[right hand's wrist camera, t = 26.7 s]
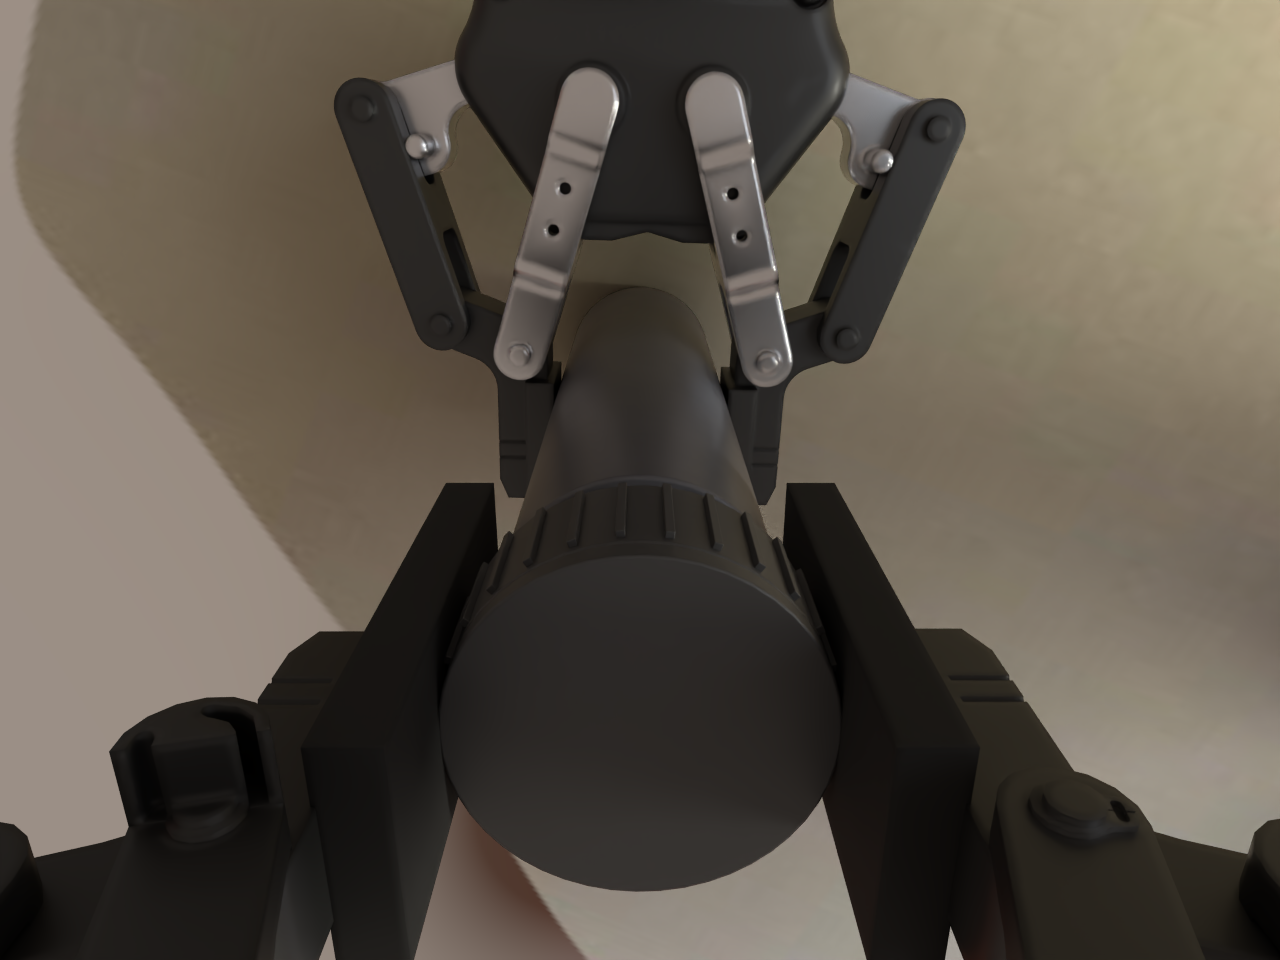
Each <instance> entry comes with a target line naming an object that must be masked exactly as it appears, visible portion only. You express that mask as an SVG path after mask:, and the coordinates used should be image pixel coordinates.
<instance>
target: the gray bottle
mask: <svg viewBox="0 0 1280 960" xmlns="http://www.w3.org/2000/svg"><path fill="white" fill-rule="evenodd" d="M623 482H626V483H627V486H638V485H648V486H660V487H662V485H663V483H667V484H671V488H675V489H680V490H684V491H689V492H693V493H696V494H699V495H702V496H705V494H706V493H709V494H711V495H714V500H716V501H718V502H720V503H722V504H724V505H726V506H728V507H730V508H732V509H734V510H736V511H738V512H739V513H741V514H743V513H744V512H745V511H746V512H747V513H749V514H750V515H751V516H752V519H753V522H754V523H755V524H756V525H757V526H759V527H760V528H761V529H762V530H763V531H764V532H765V533H767V532H766V528H765V525H764V522H763V519H762V516H761V513H760V509H759V506H758V503H757V500H756V497H755V494H754V490H753V487H752V484H751V481H750V478H749V475H748V471H747V468H746V465H745V462H744V459H743V455H742V452H741V449H740V446H739V443H738V440H737V436H736V433H735V430H734V427H733V424H732V421H731V417H730V414H729V411H728V408H727V405H726V402H725V398H724V395H723V392H722V389H721V386H720V383H719V379H718V376H717V373H716V370H715V367H714V363H713V360H712V357H711V354H710V351H709V348H708V344H707V341H706V338H705V335H704V332H703V329H702V327H701V325H700V323H699V321H698V319H697V318H696V316H695V315H694V313H693V312H692V311H691V310H690V309H689V308H688V307H687V305H685V304H684V303H683V302H682V301H680V300H679V299H678V298H676V297H674V296H673V295H671V294H669V293H666V292H664V291H661V290H657V289H653V288H647V287H635V288H627V289H623V290H619V291H617V292H614V293H612V294H610V295H608V296H606V297H604V298H603V299H601V300H600V301H599V302H597V303H596V304H595V305H594V306H593V307H592V308H591V309H590V310H589V312H588V313H587V314H586V315H585V317H584V318H583V320H582V322H581V324H580V326H579V328H578V331H577V333H576V337H575V340H574V343H573V346H572V349H571V352H570V356H569V359H568V362H567V365H566V368H565V371H564V375H563V378H562V381H561V384H560V387H559V391H558V394H557V397H556V400H555V403H554V406H553V410H552V413H551V416H550V419H549V422H548V425H547V429H546V432H545V435H544V438H543V441H542V444H541V448H540V451H539V454H538V457H537V460H536V464H535V467H534V470H533V473H532V476H531V479H530V483H529V486H528V489H527V492H526V495H525V498H524V502H523V505H522V508H521V511H520V514H519V517H518V521H517V524H516V527H515V530H514V533H515V532H516V531H517V530H518V529H519V528H521V527H522V526H523V525H524V524H526V523H527V522H528V521H529V520H531V519H532V518H533V517H535V514H536V510H538V509H540V508H541V507H544V509H545V510H547V509H548V508H550V507H552V506H554V505H556V504H558V503H561V502H563V501H565V500H568V499H570V498H572V497H574V496H575V492H578V491H581V490H583V491H584V494H585V493H588V492H592V491H595V490H600V489H606V488H612V487H618V483H623ZM514 533H513V534H514Z"/></svg>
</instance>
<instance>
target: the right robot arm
mask: <svg viewBox="0 0 1280 960" xmlns="http://www.w3.org/2000/svg"><path fill="white" fill-rule="evenodd" d="M783 547H784V549H785V552H786V555H787V558H788V559H789V561H790V562H791V564H792V566H793V567H794V569H795V570H798V569H800V568H801V569H802V571H803V573H804V575H805V578H806V581H807V583H808V586H809V589H810V591H811V594H812V597H813V600H814V602H815V605H816V608H817V610H818V613H819V616H820V618H821V621H822V624H823V627H824V629H825V634H826V636H827V639H828V642H829V645H830V647H831V650H832V653H833V655H834V658H835V661H836V664H837V666H836V672H834V674H835V677H836V681H837V685H838V688H839V692H840V696H841V705H842V724H841V735H840V745H839V754H838V760H837V764H836V767H835V769H834V772H833V775H832V777H831V780H830V783H829V785H828V787H827V788H826V790H825V792H824V794H823V796H822V798H823V801H824V805H825V809H826V812H827V816H828V820H829V823H830V827H831V831H832V834H833V838H834V842H835V845H836V849H837V853H838V856H839V860H840V864H841V867H842V871H843V875H844V878H845V882H846V886H847V889H848V893H849V897H850V900H851V904H852V908H853V911H854V915H855V919H856V922H857V926H858V930H859V933H860V937H861V941H862V944H863V948H864V952H865V955H866V959H867V960H945V955H946V950H947V944H948V938H949V932H950V926H951V929H952V931H953V934H954V936H955V939H956V941H957V944H958V946H959V949H960V952H961V954H962V957H963V959H964V960H1280V819H1276V820H1270V821H1267V822H1266V823H1265V824H1264V825H1263V826H1261V827H1260V828H1259V829H1258V830H1257V831H1256V832H1255V833H1254V836H1253V839H1252V843H1251V846H1250V849H1249V852H1248V854H1244V853H1240V852H1235V851H1231V850H1226V849H1222V848H1217V847H1213V846H1208V845H1204V844H1199V843H1195V842H1190V841H1186V840H1181V839H1178V838H1174V837H1171V836H1167V835H1164V834H1160V833H1157V832H1154V831H1153V828H1152V826H1151V824H1150V823H1149V822H1148V820H1147V819H1146V817H1145V816H1144V814H1143V813H1142V811H1141V810H1140V808H1139V807H1138V806H1137V805H1136V804H1135V803H1134V802H1132V801H1131V800H1130V799H1129V798H1127V797H1126V796H1125V795H1124V794H1122V793H1121V792H1120V791H1118V790H1117V789H1116V788H1114V787H1112V786H1110V785H1108V784H1106V783H1104V782H1102V781H1100V780H1098V779H1096V778H1093V777H1091V776H1089V775H1087V774H1083V773H1079V772H1075V771H1074V770H1073V769H1072V767H1071V766H1070V764H1069V763H1068V762H1067V760H1066V759H1065V757H1064V756H1063V754H1062V753H1061V751H1060V750H1059V748H1058V747H1057V745H1056V744H1055V742H1054V741H1053V739H1052V738H1051V736H1050V735H1049V733H1048V732H1047V731H1046V729H1045V728H1044V726H1043V725H1042V723H1041V722H1040V720H1039V719H1038V717H1037V716H1036V714H1035V713H1034V711H1033V710H1032V708H1031V707H1030V705H1029V704H1028V703H1027V702H1024V700H1023V695H1022V694H1021V692H1020V691H1019V689H1018V688H1017V686H1016V685H1015V683H1014V682H1013V681H1010V680H1009V674H1008V673H1007V672H1006V670H1005V669H1004V667H1003V666H1002V664H1001V663H1000V661H999V660H998V658H997V657H996V655H995V654H994V652H993V651H992V650H991V649H990V648H988V647H987V646H985V645H984V644H982V643H981V642H980V641H978V640H977V639H975V638H974V637H973V636H971V635H970V634H968V633H967V632H965V631H964V630H963V629H915V628H914V626H913V625H912V623H911V621H910V619H909V617H908V616H907V614H906V612H905V610H904V608H903V606H902V605H901V603H900V601H899V599H898V597H897V596H896V594H895V592H894V590H893V588H892V587H891V585H890V583H889V581H888V579H887V577H886V576H885V574H884V572H883V570H882V568H881V567H880V565H879V563H878V561H877V559H876V558H875V556H874V554H873V552H872V550H871V548H870V547H869V545H868V543H867V541H866V539H865V538H864V536H863V534H862V532H861V530H860V528H859V527H858V525H857V523H856V521H855V519H854V518H853V516H852V514H851V512H850V510H849V509H848V507H847V505H846V503H845V501H844V499H843V498H842V496H841V494H840V492H839V490H838V489H837V487H836V485H835V483H787V488H786V504H785V519H784V535H783ZM497 552H498V543H497V527H496V511H495V495H494V483H446V484H445V486H444V488H443V490H442V491H441V493H440V495H439V497H438V499H437V500H436V502H435V504H434V506H433V508H432V510H431V511H430V513H429V515H428V517H427V519H426V520H425V522H424V524H423V526H422V528H421V529H420V531H419V533H418V535H417V537H416V539H415V540H414V542H413V544H412V546H411V548H410V549H409V551H408V553H407V555H406V557H405V559H404V560H403V562H402V564H401V566H400V568H399V569H398V571H397V573H396V575H395V577H394V578H393V580H392V582H391V584H390V586H389V588H388V589H387V591H386V593H385V595H384V597H383V598H382V600H381V602H380V604H379V606H378V608H377V609H376V611H375V613H374V615H373V617H372V618H371V620H370V622H369V624H368V626H367V627H366V629H365V631H341V632H340V631H339V632H318V633H317V634H315V635H314V636H312V637H311V638H310V639H308V640H307V641H305V642H304V643H303V644H301V645H300V646H298V647H297V648H296V649H294V650H293V651H291V652H290V653H289V654H288V655H287V657H286V658H285V660H284V661H283V663H282V664H281V666H280V667H279V669H278V670H277V672H276V673H275V675H274V676H273V678H272V683H271V684H270V683H269V684H268V685H267V686H266V688H265V689H264V691H263V692H262V694H261V695H260V697H259V699H258V704H257V703H255V702H251V701H247V700H244V699H240V698H236V697H214V698H203V699H199V700H194V701H190V702H185V703H181V704H176V705H174V706H172V707H169V708H167V709H165V710H162V711H160V712H158V713H155V714H153V715H150V716H148V717H147V718H145V719H144V720H142V721H141V722H139V723H138V724H136V725H135V726H134V727H132V728H131V729H129V730H128V731H126V732H125V733H124V734H123V735H122V736H121V737H120V739H119V740H118V741H117V742H116V744H115V745H114V746H113V747H112V749H111V750H110V751H109V753H110V757H111V761H112V764H113V768H114V772H115V776H116V780H117V783H118V787H119V791H120V795H121V799H122V803H123V806H124V810H125V814H126V818H127V822H128V826H129V828H128V830H127V833H126V835H125V836H123V837H119V838H116V839H113V840H109V841H106V842H103V843H98V844H94V845H89V846H85V847H80V848H76V849H71V850H67V851H63V852H58V853H54V854H49V855H45V856H40V857H36V858H34V856H33V853H32V850H31V847H30V844H29V840H28V837H27V836H26V835H25V834H24V833H23V832H22V831H21V830H20V829H18V828H17V827H16V826H15V825H14V824H8V823H1V822H0V960H319V957H320V955H321V952H322V950H323V947H324V945H325V942H326V939H327V937H328V934H329V932H330V929H331V934H332V940H333V946H334V952H335V958H336V960H414V957H415V953H416V950H417V946H418V942H419V939H420V935H421V932H422V928H423V924H424V921H425V917H426V913H427V910H428V906H429V902H430V899H431V895H432V891H433V888H434V884H435V880H436V877H437V873H438V869H439V866H440V862H441V858H442V855H443V851H444V847H445V844H446V840H447V836H448V833H449V829H450V825H451V822H452V818H453V814H454V811H455V807H456V803H457V800H458V796H457V793H456V791H455V789H454V787H453V785H452V783H451V781H450V779H449V777H448V774H447V771H446V768H445V764H444V761H443V758H442V749H441V740H440V729H439V717H438V707H439V701H440V695H441V689H442V686H443V683H444V680H445V677H446V674H447V671H448V668H449V664H445V663H444V658H445V655H446V652H447V650H448V647H449V644H450V642H451V639H452V636H453V634H454V631H455V628H456V625H457V623H458V620H459V617H460V615H461V612H462V609H463V607H464V604H465V601H466V599H467V596H470V594H471V591H472V588H473V585H474V583H475V580H476V577H477V574H478V572H479V569H480V567H481V565H482V563H483V562H486V563H487V564H489V563H490V561H491V560H492V559H493V557H494V556H495V554H496V553H497Z"/></svg>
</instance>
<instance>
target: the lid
mask: <svg viewBox="0 0 1280 960" xmlns="http://www.w3.org/2000/svg"><path fill="white" fill-rule="evenodd" d="M444 663H445V664H449V668H448V671H447V674H446V677H445V680H444V683H443V686H442V689H441V695H440V701H439V707H438V717H439V729H440V740H441V749H442V758H443V761H444V764H445V768H446V771H447V774H448V777H449V779H450V781H451V783H452V785H453V787H454V789H455V791H456V793H457V796H458V797H459V799H460V800H461V802H462V803H463V805H464V806H465V808H466V809H467V811H468V812H469V814H470V815H471V816H472V817H473V818H474V819H475V821H476V822H477V823H478V824H479V825H480V826H481V827H482V828H483V830H484V831H485V832H486V833H488V834H489V835H490V836H491V837H492V838H493V839H494V840H495V841H497V842H498V843H499V844H500V845H501V846H502V847H504V848H505V849H507V850H508V851H510V852H511V853H513V854H514V855H515V856H517V857H518V858H520V859H521V860H523V861H525V862H527V863H529V864H531V865H533V866H535V867H536V868H538V869H540V870H542V871H545V872H547V873H550V874H552V875H555V876H557V877H560V878H562V879H565V880H568V881H572V882H576V883H579V884H583V885H586V886H592V887H597V888H603V889H609V890H620V891H635V892H638V891H662V890H670V889H677V888H685V887H689V886H693V885H697V884H701V883H706V882H709V881H712V880H715V879H718V878H721V877H723V876H726V875H729V874H731V873H734V872H736V871H738V870H740V869H742V868H744V867H746V866H748V865H750V864H752V863H754V862H755V861H757V860H759V859H760V858H762V857H763V856H765V855H767V854H768V853H770V852H771V851H773V850H774V849H775V848H776V847H778V846H779V845H780V844H781V843H783V842H784V841H785V840H786V839H788V838H789V837H790V836H791V835H792V834H793V833H794V832H795V831H796V830H797V829H798V828H799V827H800V826H801V825H802V824H803V823H804V822H805V820H806V819H807V818H808V816H809V815H810V814H811V812H812V811H813V810H814V808H815V807H816V806H817V804H818V803H819V801H820V799H821V798H822V796H823V794H824V792H825V790H826V788H827V787H828V785H829V783H830V780H831V777H832V775H833V772H834V769H835V767H836V764H837V760H838V754H839V745H840V735H841V724H842V705H841V696H840V692H839V688H838V685H837V681H836V677H835V674H834V672H836V666H837V664H836V661H835V658H834V655H833V653H832V650H831V647H830V645H829V642H828V639H827V636H826V634H825V629H824V627H823V624H822V621H821V618H820V616H819V613H818V610H817V608H816V605H815V602H814V600H813V597H812V594H811V591H810V589H809V586H808V583H807V581H806V578H805V575H804V573H803V571H802V569H801V568H800V569H798V570H795V569H794V567H793V566H792V564H791V562H790V561H789V559H788V558H787V555H786V552H785V549H784V547H783V544H782V541H781V540H780V539H779V538H778V537H776V538H775V539H774V540H773V539H772V538H771V537H770V536H769V535H768V534H767V533H765V532H764V531H763V530H762V529H761V528H760V527H759V526H757V525H756V524H755V523H754V522H753V519H752V516H751V515H750V514H749V513H747V512H746V511H745V512H744V513H743V514H741V513H739V512H738V511H736V510H734V509H732V508H730V507H728V506H726V505H724V504H722V503H720V502H718V501H716V500H714V495H711V494H709V493H706V494H705V496H702V495H699V494H696V493H693V492H689V491H684V490H680V489H675V488H671V484H667V483H663V485H662V487H660V486H648V485H638V486H627V483H626V482H623V483H618V487H612V488H606V489H600V490H595V491H592V492H588V493H585V494H584V491H583V490H581V491H578V492H575V496H574V497H572V498H570V499H568V500H565V501H563V502H561V503H558V504H556V505H554V506H552V507H550V508H548V509H547V510H545V509H544V507H541V508H540V509H538V510H536V514H535V517H533V518H532V519H531V520H529V521H528V522H527V523H526V524H524V525H523V526H522V527H521V528H519V529H518V530H517V531H516V532H515V533H514V534H512V533H511V532H510V531H509V532H508V533H507V534H506V535H505V536H504V538H503V541H502V544H501V547H500V549H499V550H498V552H497V553H496V554H495V556H494V557H493V559H492V560H491V561H490V563H489V564H487V563H486V562H483V563H482V565H481V567H480V569H479V572H478V574H477V577H476V580H475V583H474V585H473V588H472V591H471V594H470V596H467V599H466V601H465V604H464V607H463V609H462V612H461V615H460V617H459V620H458V623H457V625H456V628H455V631H454V634H453V636H452V639H451V642H450V644H449V647H448V650H447V652H446V655H445V658H444Z"/></svg>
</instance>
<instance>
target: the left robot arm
mask: <svg viewBox="0 0 1280 960" xmlns="http://www.w3.org/2000/svg"><path fill="white" fill-rule="evenodd" d="M469 107H471V109H472V110H473V111H474V113H475V114H476V116H477V117H478V119H479V120H480V122H481V123H482V124H483V126H484V127H485V129H486V130H487V132H488V133H489V135H490V136H491V137H492V139H493V140H494V142H495V143H496V145H497V146H498V148H499V149H500V150H501V152H502V153H503V155H504V156H505V158H506V159H507V161H508V162H509V163H510V165H511V166H512V168H513V169H514V171H515V172H516V174H517V175H518V176H519V178H520V179H521V181H522V182H523V184H524V185H525V187H526V188H527V189H528V191H529V192H530V194H531V195H532V197H533V199H532V203H531V207H530V210H529V214H528V218H527V221H526V225H525V229H524V232H523V236H522V240H521V243H520V247H519V251H518V255H517V258H516V262H515V267H514V273H513V280H512V284H511V288H510V292H509V295H508V299H507V303H504V302H502V301H499V300H497V299H494V298H492V297H489V296H487V295H484V294H481V292H480V289H479V287H478V284H477V281H476V278H475V275H474V272H473V269H472V266H471V263H470V260H469V257H468V254H467V251H466V249H465V246H464V243H463V240H462V237H461V234H460V231H459V228H458V225H457V222H456V219H455V216H454V214H453V211H452V208H451V205H450V202H449V199H448V196H447V193H446V190H445V187H444V184H443V181H442V178H441V176H440V173H439V172H442V171H445V170H446V169H448V168H449V167H450V166H451V165H452V164H453V163H454V161H455V159H456V156H457V152H458V143H457V137H456V126H457V122H458V120H459V118H460V116H461V114H462V113H463V112H464V111H465V110H466V109H468V108H469ZM334 110H335V115H336V118H337V121H338V123H339V126H340V129H341V131H342V134H343V137H344V139H345V142H346V145H347V147H348V150H349V153H350V155H351V158H352V161H353V163H354V166H355V169H356V171H357V174H358V177H359V179H360V182H361V185H362V187H363V190H364V193H365V195H366V198H367V201H368V203H369V206H370V209H371V211H372V214H373V217H374V219H375V222H376V225H377V228H378V230H379V233H380V236H381V238H382V241H383V244H384V246H385V249H386V252H387V254H388V257H389V260H390V262H391V265H392V268H393V270H394V273H395V276H396V278H397V281H398V284H399V286H400V289H401V292H402V294H403V297H404V300H405V302H406V305H407V308H408V310H409V313H410V316H411V318H412V321H413V324H414V326H415V329H416V332H417V334H418V336H419V337H420V339H421V340H422V341H423V342H424V343H425V344H426V345H427V346H429V347H431V348H433V349H436V350H450V349H453V350H455V351H458V352H461V353H463V354H466V355H469V356H471V357H474V358H476V359H478V360H480V361H482V362H483V363H485V364H486V365H487V366H488V367H489V368H490V369H491V371H492V372H493V374H494V376H495V378H496V381H497V385H498V411H499V440H500V443H499V447H500V479H501V481H502V483H503V486H504V488H505V490H506V492H507V495H508V497H512V498H525V495H526V492H527V489H528V486H529V483H530V479H531V476H532V473H533V470H534V467H535V464H536V460H537V457H538V454H539V451H540V448H541V444H542V441H543V438H544V435H545V432H546V429H547V425H548V422H549V419H550V416H551V413H552V410H553V406H554V403H555V400H556V397H557V394H558V391H559V387H560V384H561V362H556V361H553V341H554V337H555V334H556V331H557V327H558V324H559V320H560V317H561V314H562V310H563V307H564V304H565V300H566V297H567V293H568V290H569V287H570V283H571V280H572V277H573V274H574V271H575V268H576V264H577V261H578V258H579V255H580V251H581V248H582V244H583V241H584V240H616V239H620V238H624V237H628V236H632V235H636V234H640V233H645V232H649V233H653V234H656V235H659V236H663V237H666V238H669V239H672V240H676V241H679V242H682V243H708V245H709V250H710V254H711V258H712V263H713V267H714V271H715V274H716V278H717V281H718V285H719V290H720V294H721V298H722V303H723V307H724V312H725V316H726V320H727V325H728V329H729V334H730V338H731V342H732V343H731V356H730V367H721V377H720V386H721V389H722V392H723V395H724V398H725V402H726V405H727V408H728V411H729V414H730V417H731V421H732V424H733V427H734V430H735V433H736V436H737V440H738V443H739V446H740V449H741V452H742V455H743V459H744V462H745V465H746V468H747V471H748V475H749V478H750V481H751V484H752V487H753V490H754V494H755V497H756V500H757V503H758V505H766V504H767V502H768V500H769V499H770V497H771V495H772V493H773V491H774V489H775V487H776V477H777V463H778V454H779V443H780V432H781V421H782V410H783V399H784V393H785V390H786V388H787V386H788V384H789V382H790V381H791V380H792V379H793V378H794V377H795V376H796V375H797V374H798V373H800V372H801V371H803V370H806V369H808V368H811V367H814V366H818V365H821V364H824V363H827V362H830V361H834V362H837V363H843V364H846V363H852V362H855V361H857V360H859V359H860V358H862V357H863V356H864V355H865V354H866V352H867V351H868V349H869V348H870V346H871V343H872V341H873V339H874V337H875V334H876V332H877V330H878V328H879V325H880V323H881V321H882V319H883V316H884V314H885V312H886V310H887V308H888V305H889V303H890V301H891V299H892V296H893V294H894V292H895V290H896V287H897V285H898V283H899V281H900V278H901V276H902V274H903V272H904V269H905V267H906V265H907V263H908V260H909V258H910V256H911V254H912V251H913V249H914V247H915V245H916V243H917V240H918V238H919V236H920V234H921V231H922V229H923V227H924V225H925V222H926V220H927V218H928V216H929V213H930V211H931V209H932V207H933V204H934V202H935V200H936V198H937V195H938V193H939V191H940V189H941V186H942V184H943V182H944V180H945V178H946V175H947V173H948V171H949V169H950V166H951V164H952V162H953V160H954V157H955V155H956V153H957V151H958V148H959V146H960V144H961V142H962V139H963V137H964V134H965V128H966V122H965V117H964V114H963V112H962V110H961V109H960V107H959V106H958V105H957V104H956V103H954V102H953V101H950V100H948V99H935V98H925V99H915V98H913V97H910V96H908V95H905V94H903V93H900V92H897V91H895V90H892V89H890V88H887V87H885V86H882V85H880V84H877V83H875V82H872V81H869V80H867V79H864V78H862V77H859V76H857V75H854V74H852V73H850V66H849V59H848V55H847V51H846V49H845V46H844V44H843V42H842V39H841V37H840V34H839V31H838V28H837V24H836V20H835V14H834V6H833V0H474V2H473V7H472V10H471V13H470V16H469V19H468V21H467V24H466V26H465V28H464V30H463V32H462V34H461V35H460V38H459V40H458V43H457V47H456V52H455V60H452V61H449V62H446V63H443V64H439V65H436V66H433V67H430V68H427V69H424V70H420V71H417V72H414V73H411V74H408V75H405V76H401V77H398V78H395V79H392V80H389V81H385V82H381V81H376V80H371V79H366V78H353V79H350V80H348V81H346V82H345V83H344V84H342V85H341V87H340V88H339V89H338V91H337V93H336V96H335V100H334ZM830 119H832V120H833V121H834V122H835V123H836V124H837V125H838V127H839V128H840V130H841V133H842V137H843V147H842V152H841V156H840V167H841V171H842V173H843V175H844V177H845V178H846V179H847V180H848V181H849V182H850V183H852V184H854V185H856V187H855V189H854V192H853V194H852V196H851V199H850V201H849V204H848V206H847V209H846V211H845V213H844V216H843V218H842V221H841V223H840V226H839V228H838V230H837V233H836V235H835V238H834V240H833V242H832V245H831V247H830V250H829V252H828V255H827V257H826V259H825V262H824V264H823V267H822V269H821V272H820V274H819V276H818V279H817V281H816V284H815V286H814V288H813V291H812V293H811V296H810V298H809V301H808V303H806V304H803V305H800V306H797V307H794V308H791V309H788V310H785V311H783V306H782V301H781V296H780V291H779V277H778V270H777V264H776V259H775V254H774V249H773V245H772V240H771V235H770V230H769V225H768V220H767V215H766V210H765V205H764V203H765V202H766V201H767V199H768V198H769V197H770V196H771V194H772V193H773V192H774V190H775V189H776V188H777V187H778V185H779V184H780V183H781V182H782V180H783V179H784V178H785V176H786V175H787V174H788V173H789V171H790V170H791V169H792V168H793V166H794V165H795V164H796V163H797V161H798V160H799V159H800V157H801V156H802V155H803V154H804V152H805V151H806V150H807V149H808V147H809V146H810V145H811V143H812V142H813V141H814V140H815V138H816V137H817V136H818V135H819V133H820V132H821V131H822V130H823V128H824V127H825V126H826V124H827V123H828V122H829V121H830Z"/></svg>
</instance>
